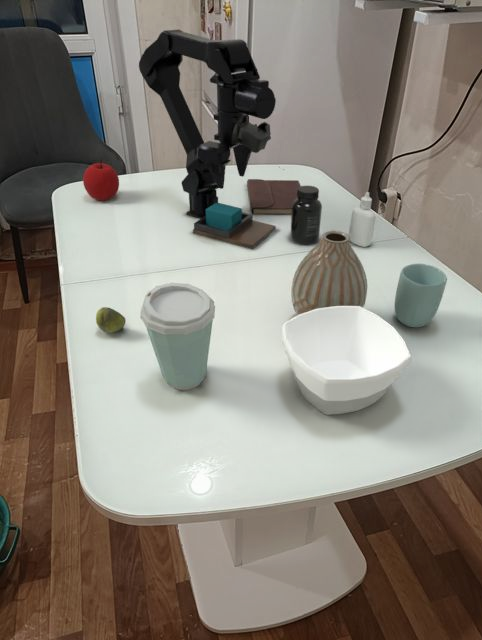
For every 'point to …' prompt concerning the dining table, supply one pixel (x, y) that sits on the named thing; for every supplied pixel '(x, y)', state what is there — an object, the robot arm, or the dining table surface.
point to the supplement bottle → (306, 216)
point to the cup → (419, 294)
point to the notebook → (272, 195)
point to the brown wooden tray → (237, 231)
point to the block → (223, 216)
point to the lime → (109, 320)
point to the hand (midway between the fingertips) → (231, 182)
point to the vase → (329, 276)
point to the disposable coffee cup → (179, 331)
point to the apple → (101, 181)
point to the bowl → (343, 357)
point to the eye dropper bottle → (362, 223)
